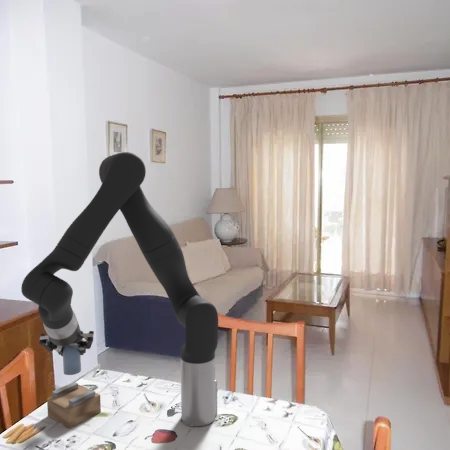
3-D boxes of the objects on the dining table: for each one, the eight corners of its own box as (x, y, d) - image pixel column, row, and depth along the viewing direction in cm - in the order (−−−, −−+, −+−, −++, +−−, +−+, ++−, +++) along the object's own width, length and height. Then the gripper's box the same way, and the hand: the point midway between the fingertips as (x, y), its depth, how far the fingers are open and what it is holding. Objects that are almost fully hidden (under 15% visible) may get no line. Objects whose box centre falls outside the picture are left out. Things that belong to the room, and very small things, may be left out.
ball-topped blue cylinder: (74, 366, 121) (73, 331, 120) (84, 370, 119) (83, 335, 118) (59, 372, 118) (58, 336, 117) (69, 376, 115) (68, 340, 114)
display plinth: (79, 400, 127) (78, 379, 126) (100, 411, 121) (99, 389, 120) (47, 415, 119) (46, 393, 118) (69, 428, 113) (68, 404, 112)
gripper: (92, 309, 110) (100, 338, 123) (33, 312, 108) (48, 341, 121) (90, 337, 105) (98, 363, 118) (28, 340, 103) (44, 367, 116)
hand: (73, 352), depth 119 cm, fingers closed on ball-topped blue cylinder, 4 cm apart
